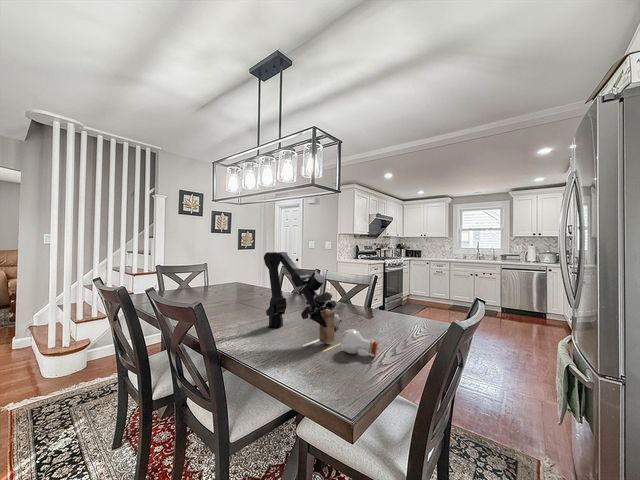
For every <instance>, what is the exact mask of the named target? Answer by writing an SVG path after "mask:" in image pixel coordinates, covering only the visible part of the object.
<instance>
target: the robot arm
mask: <svg viewBox="0 0 640 480" xmlns="http://www.w3.org/2000/svg"><path fill="white" fill-rule="evenodd" d="M263 261H264V265H265V267H266V268H267V269H268V273H269V275H268V276H269V282H270V283H269V284H270V290H271V291H270V292H271V298H270V300H269V307H268V308H267V310H266V311H265V313H266V314H265V315H266V316H268V325H267V328H271V329H280V328H281V327H283V326H284V318H283V315H285V314H286V309H287V306H288V303H287V298H286V297H284V296H283V295H282V290H281V281H280V274H279V267H280V264H282V266H283V267H284V268H285V270H286V271H287V272H288V273H289V274H290V277H291V282H292V283H293V285H294V287H297V288H299V291H298V295H299V296H302V295H303V297H304V298H305V300H306V302H305V304H306V305H309V306H306V307H305V308H304V310H302V311H301V313H300V316H301V318H302V320H305V319H306V320H307V319H309V320H312V321H313V322H315V323H317V324H318V325H319V326H320V325H321V326H323V327H326V324H325V322H324V320H323V318H322V316H321V311H324V310H326V309H328V310H331V311H333V310H334V309H335V307H336V306H337V304H338V303H337V302H336V301H335V300H332V298H333V294H332V293H331V291H330V290H329V291H326V292H324V293H323V294H320V293H319V294H318V293H317V292H316V291H319V289H320V288H321V287H322V286H324V284H325V283H326V278H325V276H323V275H322V274H321V273H319V272H318V271H314V272H313V273H312V274H311V276H310V275H309V274H308V273H307V272H305V271H304V270H302V269H299V267H298V266H297V265H296V264H295V262H294V261H293V260H292V258H290V256H289V255H288V253H287V252H285V251H280V252H277V251H275V252H274V251H273V252H271V251H270V252H268V251H267V252H266V253H265V254H264V255H263ZM300 287H302V288H300Z"/></svg>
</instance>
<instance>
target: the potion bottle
mask: <svg viewBox="0 0 640 480" xmlns="http://www.w3.org/2000/svg"><path fill="white" fill-rule="evenodd" d="M339 343H340V345H339V346H341V349H342V350H343V352H345V353H347V354H349V355H350V354H357V353H358V352H360V351H363V352H366V353H367V354H368V355H369V356H372V355H373V357H376V356H377V352H378V346H379V340H377V341H375V338H374V337H372V338H371V339H365V338H363V336H362V334H361V333H360V332H359V331H358V330H357V329H355V328H354V329H353V328H352V329H351V328H350V329H346V330H345V331H344V332H342V334H341V336H340V342H339Z"/></svg>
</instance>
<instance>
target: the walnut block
mask: <svg viewBox="0 0 640 480" xmlns="http://www.w3.org/2000/svg"><path fill="white" fill-rule="evenodd" d="M335 314H336V313H335V311H333V310H332V311H331V310H328V309H326V310H324V311H321V316H322V318H323V320H324V322H325V324H326V327H323V326H321V325H320V324H319V337H318V339H319V341H318V342H320V343H324V344H327V345H328V344H330V343H333V342H335V328H334V316H335Z"/></svg>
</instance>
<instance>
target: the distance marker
mask: <svg viewBox="0 0 640 480" xmlns="http://www.w3.org/2000/svg"><path fill="white" fill-rule="evenodd" d="M338 346H341V345H340V342H339V343H337V344H335V345H333V346H330V347H329V348H326V349H323V350H322V352H325V353H326V351H329V350H331V349H334V348H337V347H338Z"/></svg>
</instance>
